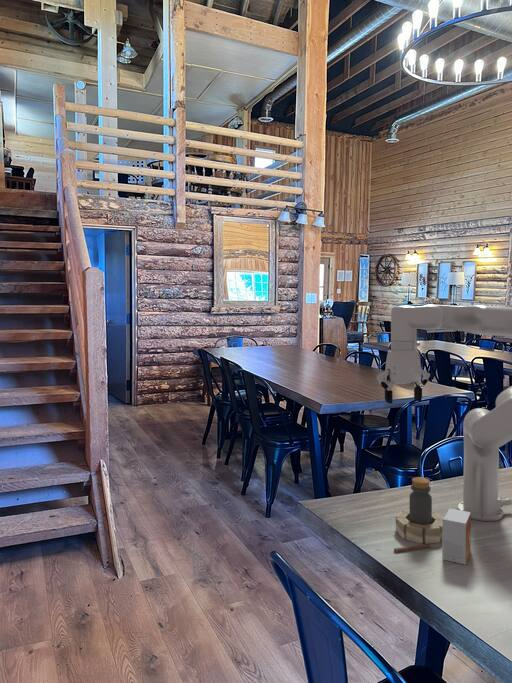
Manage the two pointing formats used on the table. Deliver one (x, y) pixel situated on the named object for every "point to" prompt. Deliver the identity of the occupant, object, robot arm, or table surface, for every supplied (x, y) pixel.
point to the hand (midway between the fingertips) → (403, 401)
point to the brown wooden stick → (412, 548)
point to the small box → (456, 536)
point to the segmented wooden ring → (419, 528)
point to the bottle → (420, 502)
